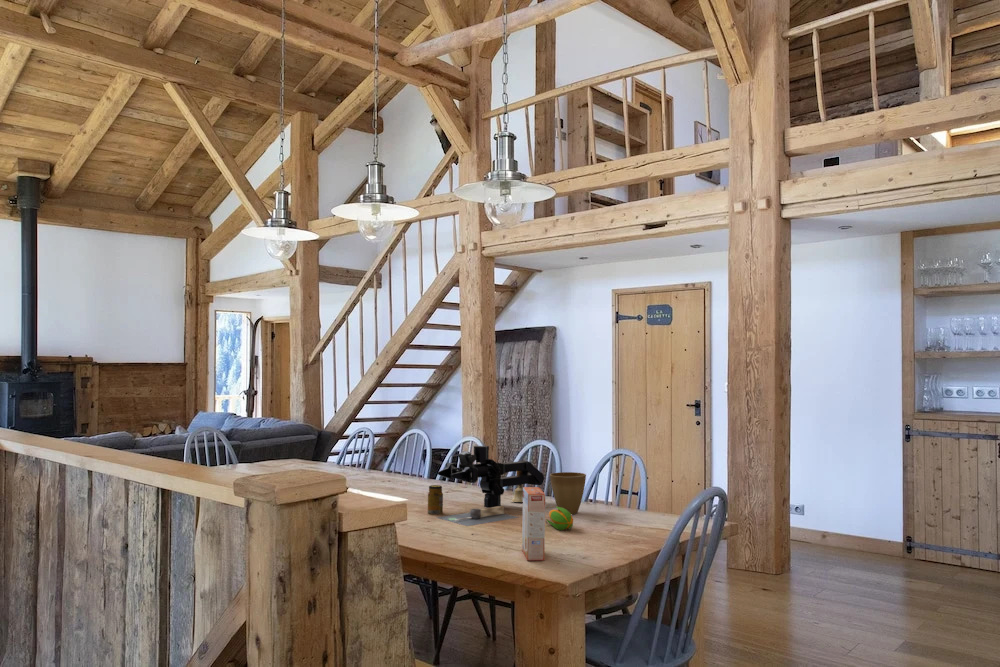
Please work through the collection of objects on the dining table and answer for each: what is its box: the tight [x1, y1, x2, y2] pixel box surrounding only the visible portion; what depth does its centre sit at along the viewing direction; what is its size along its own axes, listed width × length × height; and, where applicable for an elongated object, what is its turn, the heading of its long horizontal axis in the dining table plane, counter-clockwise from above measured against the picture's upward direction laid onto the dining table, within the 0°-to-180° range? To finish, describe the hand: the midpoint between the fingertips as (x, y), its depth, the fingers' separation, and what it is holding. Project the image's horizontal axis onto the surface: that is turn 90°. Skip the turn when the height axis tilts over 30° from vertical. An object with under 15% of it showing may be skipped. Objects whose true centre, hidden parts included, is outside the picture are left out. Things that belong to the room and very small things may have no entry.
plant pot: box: [549, 471, 587, 515], centre depth 313 cm, size 15×15×16 cm
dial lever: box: [454, 505, 505, 521], centre depth 297 cm, size 24×4×3 cm, turn 130°
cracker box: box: [521, 486, 546, 562], centre depth 243 cm, size 14×6×21 cm, turn 5°
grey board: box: [436, 512, 520, 527], centre depth 298 cm, size 26×20×1 cm
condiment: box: [427, 484, 444, 516], centre depth 306 cm, size 7×8×12 cm
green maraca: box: [545, 506, 574, 531], centre depth 286 cm, size 7×8×20 cm
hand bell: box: [510, 471, 523, 503], centre depth 339 cm, size 8×8×16 cm
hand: (444, 474), depth 307 cm, fingers open, 9 cm apart
